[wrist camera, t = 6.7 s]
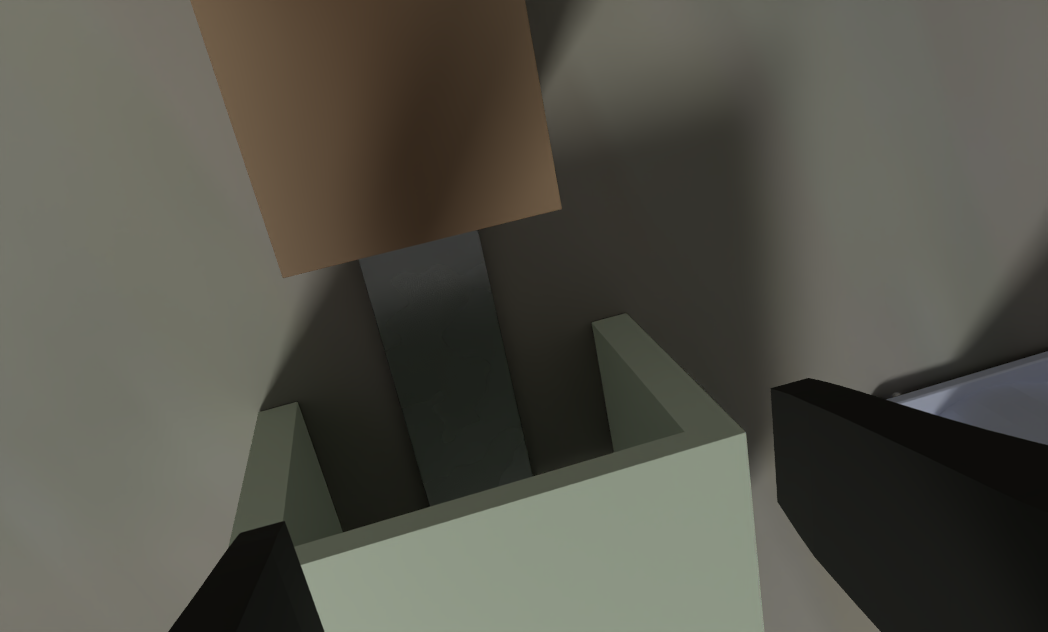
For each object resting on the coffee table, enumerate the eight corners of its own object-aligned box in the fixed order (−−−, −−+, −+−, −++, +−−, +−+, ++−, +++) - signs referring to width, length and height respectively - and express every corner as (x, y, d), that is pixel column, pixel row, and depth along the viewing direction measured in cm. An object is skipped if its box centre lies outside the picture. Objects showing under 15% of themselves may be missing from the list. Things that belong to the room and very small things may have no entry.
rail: (301, -557, 14) (300, -564, 13) (575, 673, 25) (577, 677, 25) (127, -539, 13) (124, -547, 13) (487, 702, 25) (488, 707, 24)
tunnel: (626, 313, 21) (746, 432, 15) (668, 594, 25) (778, 783, 19) (258, 412, 20) (219, 589, 13) (363, 692, 23) (370, 932, 17)
